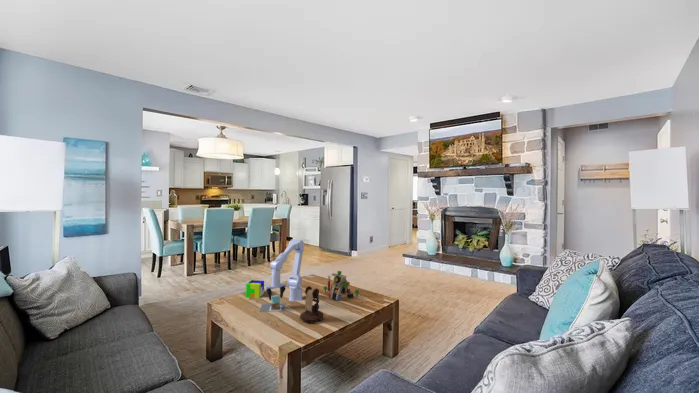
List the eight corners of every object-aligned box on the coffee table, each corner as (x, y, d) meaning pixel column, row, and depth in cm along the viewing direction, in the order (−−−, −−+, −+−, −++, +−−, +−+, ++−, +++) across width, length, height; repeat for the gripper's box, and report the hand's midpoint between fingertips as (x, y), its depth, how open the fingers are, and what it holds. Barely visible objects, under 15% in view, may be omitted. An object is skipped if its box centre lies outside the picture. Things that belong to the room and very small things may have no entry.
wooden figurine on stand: (295, 319, 190) (295, 287, 190) (312, 312, 202) (312, 282, 201) (311, 326, 181) (311, 293, 180) (328, 318, 192) (328, 287, 192)
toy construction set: (315, 294, 238) (315, 267, 237) (337, 288, 253) (337, 263, 252) (337, 303, 218) (338, 275, 217) (359, 296, 233) (360, 269, 233)
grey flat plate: (285, 303, 215) (285, 302, 215) (284, 311, 202) (284, 310, 202) (262, 304, 213) (262, 303, 213) (259, 312, 199) (259, 311, 199)
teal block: (277, 300, 209) (277, 294, 209) (279, 302, 205) (279, 296, 205) (271, 301, 207) (271, 296, 206) (273, 304, 203) (273, 298, 203)
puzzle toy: (263, 293, 236) (264, 280, 236) (258, 298, 226) (259, 284, 226) (251, 292, 237) (251, 280, 237) (246, 297, 227) (246, 284, 227)
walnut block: (279, 306, 209) (279, 301, 208) (279, 309, 204) (279, 303, 203) (272, 307, 208) (272, 301, 208) (271, 310, 203) (271, 304, 203)
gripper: (284, 275, 213) (283, 295, 213) (263, 278, 205) (263, 298, 205) (287, 278, 207) (287, 298, 207) (266, 281, 199) (266, 302, 199)
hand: (275, 298), depth 206 cm, fingers open, 7 cm apart
